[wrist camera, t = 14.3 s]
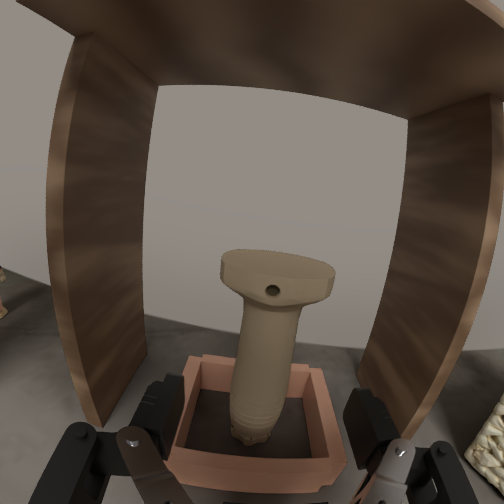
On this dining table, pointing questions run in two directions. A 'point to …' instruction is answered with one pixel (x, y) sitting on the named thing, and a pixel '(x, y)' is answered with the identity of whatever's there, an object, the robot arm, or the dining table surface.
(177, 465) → the socket
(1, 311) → the grandmother figurine
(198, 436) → the dining table surface
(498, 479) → the storage basket
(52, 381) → the dining table surface
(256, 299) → the handle
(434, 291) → the wooden footstool
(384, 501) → the robot arm
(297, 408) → the dining table surface
